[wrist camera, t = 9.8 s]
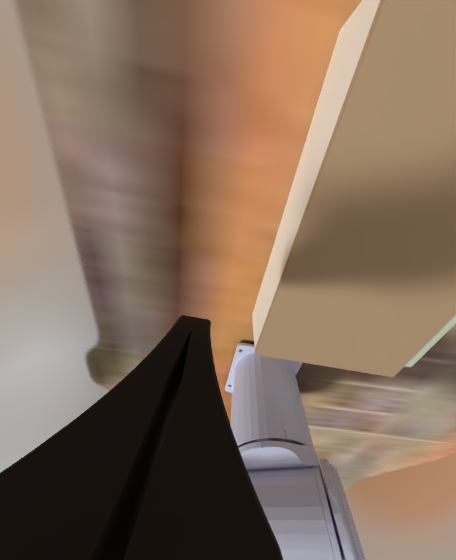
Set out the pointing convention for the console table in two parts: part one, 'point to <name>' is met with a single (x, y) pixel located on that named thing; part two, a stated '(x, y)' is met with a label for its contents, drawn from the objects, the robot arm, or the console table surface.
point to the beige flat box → (371, 200)
